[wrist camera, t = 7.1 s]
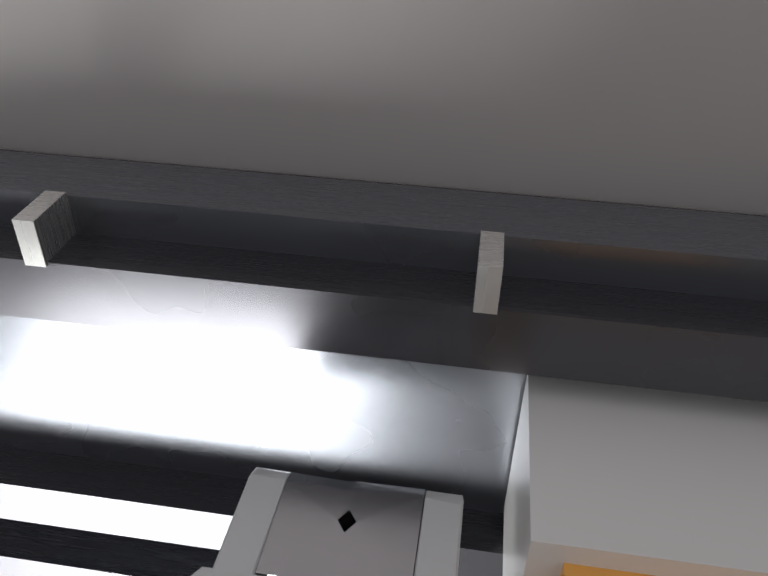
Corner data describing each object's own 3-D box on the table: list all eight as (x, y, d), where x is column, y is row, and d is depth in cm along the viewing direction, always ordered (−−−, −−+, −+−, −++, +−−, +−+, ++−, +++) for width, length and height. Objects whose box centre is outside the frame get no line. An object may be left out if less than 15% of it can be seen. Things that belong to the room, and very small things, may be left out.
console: (1768, 288, 9) (2069, 411, 7) (1089, 801, 17) (1154, 917, 15) (-206, 120, 12) (-331, 178, 10) (24, 627, 20) (-22, 708, 18)
